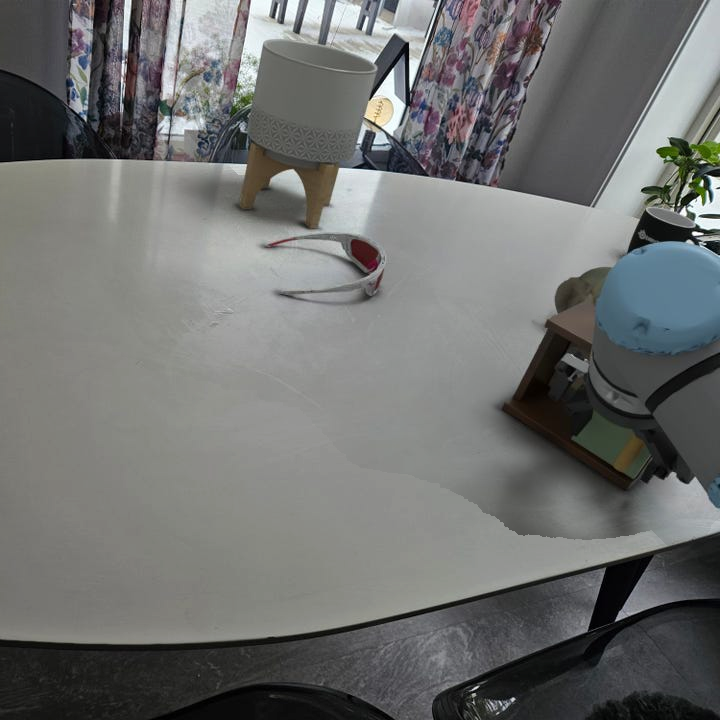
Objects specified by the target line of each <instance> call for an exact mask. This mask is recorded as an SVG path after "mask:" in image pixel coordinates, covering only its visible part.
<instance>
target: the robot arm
mask: <svg viewBox="0 0 720 720" xmlns="http://www.w3.org/2000/svg"><path fill="white" fill-rule="evenodd" d="M612 267H613V268H612V269H611V270H610V272H609V273H608V275H607V277H606V279H605V282H604V285H603V288H602V290H601V293H600V294H599V296H598V298H597V301H596V304H595V306H596V308H595V325H594V334H593V342H592V350H591V356H590V364H588V363H589V362H588V360H586V359H584V357H583V354H582V352H581V351H580V350H579V349H577V348H574V347H571V348H570V349H569V350H568V352H567V353H566V354H565V355H564V356H563V357H562V359H561V360H560V361H559V362H558V363H557V364H556V366H555V370H556V373H557V378H556V380H555V382H554V383H553V385H552V387H551V389H550V391H549V393H548V395H549V397H550V398H551V399H553V400H556V401H558V400H559V399H561V400H562V401H563V402H564V403H565V404H564V408H565V409H566V411H565V412H566V414H567V415H568V416H570V417H571V418H572V422H571V430H570V433H571V434H572V435H574V436H575V437H577V436H578V435H579V433H580V432H581V431H582V430H583V429H584V427H585V426H586V425H587V424H588V423H589V422H590V420H591V419H592V415H593V410H594V411H596V412H597V413H598V414H599V415H600V416H602V417H603V418H604V419H606V420H607V421H609V422H610V423H612V424H614V425H617V426H620V427H623V428H627V429H632V430H633V432H634V434H635V436H636V437H637V438H639V439H641V440H643V441H644V443H645V445H646V447H647V448H648V450H649V452H650V454H651V456H652V458H653V459H652V460H651V461H650V462H649V463H648V465H647V467H646V469H645V471H644V473H643V474H642V476H641V477H640V478H639V480H640V481H641V482H643V483H645V484H646V485H647V484H648V483H650V481H651V480H652V478H653V477H656V478H657V479H659V480H661V481H665V480H666V479H667V478H668V477H670V475H671V474H672V473H674V474H675V477H676V479H677V480H678V482H680V483H682V484H684V485H690V483H691V482H692V481H693V480H694V479H695V478H696V480H697V482H698V483H699V484H700V486H701V487H702V489H703V490H704V491H705V493H706V495H707V497H708V500H709V501H710V503H711V504H712V505H713V506H714V507H715V508H717V509H719V510H720V256H719V255H717V254H716V253H715V252H713V251H711V250H709V249H707V248H705V247H702V246H701V245H700V246H697V245H694V243H690V242H686V243H685V242H672V241H670V242H658V243H653V244H649V245H646V246H643V247H640V248H638V249H635V250H633V251H632V252H630V253H628V254H627V253H626V254H625V255H624V256H622V257H621V258H620V259H619V260H618V261H617V262H616V263H615V264H614V265H613V266H612ZM581 376H583V379H584V382H585V383H586V384H584V383H582V384H581V386H580V387H579V388H578V389H577V390H576V389H574V388H573V387H572V386H571V385H572V384H573V383H574V381H575V379H576V378H577V377H578V378H580V377H581Z"/></svg>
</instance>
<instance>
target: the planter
mask: <svg viewBox="0 0 720 720" xmlns="http://www.w3.org/2000/svg"><path fill="white" fill-rule="evenodd" d="M378 69H379V67H378V66H377V65H376V64H375V63H374V62H373V61H371V60H369V59H368V58H365V57H363V56H361V55H359V54H356V53H352V52H350V51H347V50H343V49H340V48H336V47H334V46H328V45H325V44H320V43H315V42H310V41H305V40H298V39H288V38H271V39H266V40H263V43H262V49H261V53H260V57H259V63H258V69H257V74H256V79H255V84H254V90H253V96H252V101H251V106H250V110H249V111H250V112H249V116H248V120H247V121H248V122H247V126H246V134H247V137H248V138H249V139H250V140H252V141H253V142H251V143H250V147H249V151H248V152H249V153H248V157H247V161H246V162H247V163H246V168H245V173H244V178H243V183H242V188H241V195H240V198H239V205H238V206H239V207H240V208H241V209H242V210H252V209H253V206H254V203H255V202H256V198H257V196H258V194H259V193H260V191H261V190H262V189H269V185H270V183H271V180H272V179H273V178H274V177H275V176H277V175H278V174H281V173H283V172H286V171H290V170H293V171H294V172H295V173H296V174H297V176H298V177H299V179H300V181H301V183H302V186H303V189H304V194H305V200H306V202H305V203H306V214H305V221H304V225H306V226H307V227H308V228H309V229H311V230H312V229H318V228H319V225H320V220H321V216H322V213H323V209H324V207H325V206H330V203H331V200H332V196H333V193H334V189H335V184H336V181H337V178H338V175H339V171H340V168H341V163H342V162H346V161H349V160H351V159H353V157H354V155H355V152H356V148H357V144H358V140H359V137H360V135H361V130H362V128H363V123H364V119H365V115H366V113H367V109H368V105H369V103H370V102H369V101H370V98H371V94H372V90H373V87H374V84H375V80H376V77H377V72H378Z"/></svg>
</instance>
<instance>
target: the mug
mask: <svg viewBox="0 0 720 720" xmlns="http://www.w3.org/2000/svg"><path fill="white" fill-rule="evenodd" d="M696 225H697V224H696V222H694V221H693V220H692V219H691V218H689V217H688V216H685V215H683V214H681V213H679V212H676V211H673V210H671V209H667V208H663V207H658V206H647V207H646V208H645V209H644V211H643V213H642V214H641V217H640V218H639V220H638V222H637V225H636V227H635V229H634V232H633V234H632V236H631V238H630V241H629V244H628V248H627V251H626V255H627V254H628V253H630V252H632V251H633V250H635V249H638V248H640V247H643V246H646V245H649V244H653V243H658V242H670V241H672V242H685V243H687V241H690V242H692V244H694V245H697V246H700V247H701V245H700V242H699V240H698V239H697V237H695V235H694V234H693V233H694V231H695V228H696Z"/></svg>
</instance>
